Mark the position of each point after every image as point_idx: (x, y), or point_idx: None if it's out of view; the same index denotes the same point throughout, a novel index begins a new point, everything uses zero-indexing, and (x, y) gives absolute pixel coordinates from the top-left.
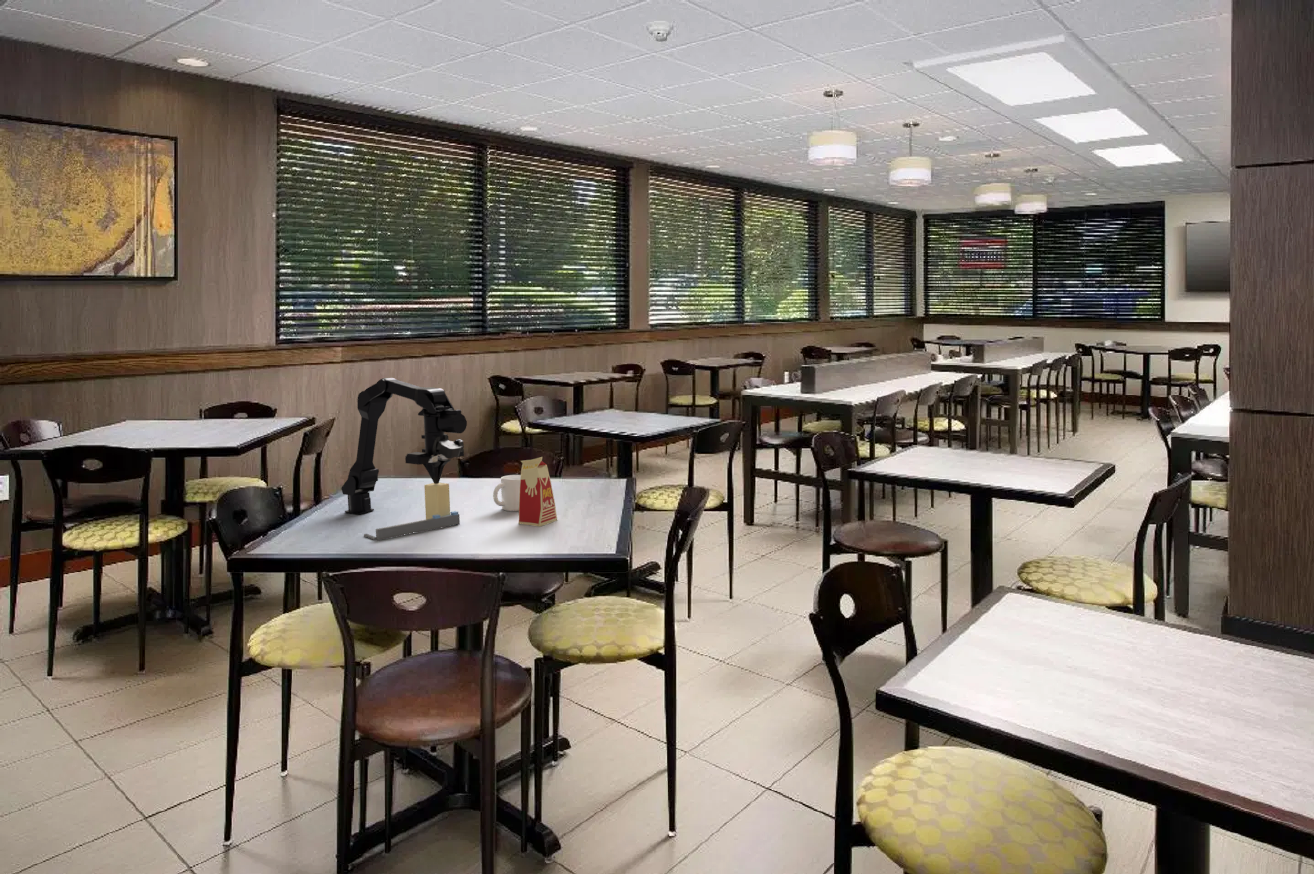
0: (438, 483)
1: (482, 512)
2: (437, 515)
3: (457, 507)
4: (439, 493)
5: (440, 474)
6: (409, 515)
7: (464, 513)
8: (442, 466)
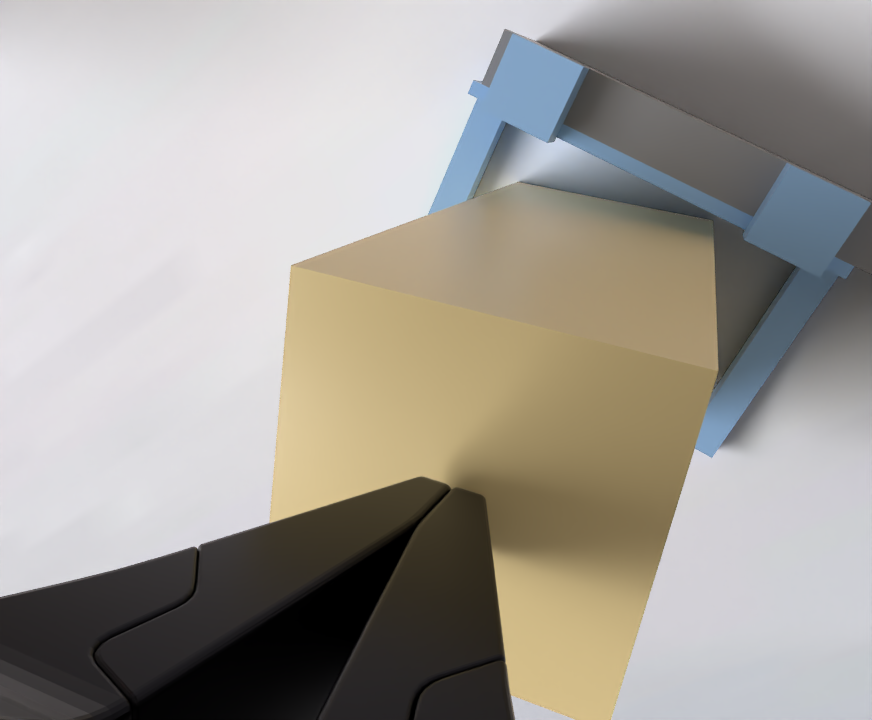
0: None
1: (43, 129)
2: (813, 198)
3: (19, 444)
4: (642, 302)
5: (289, 542)
6: None
7: (140, 276)
8: (17, 659)
